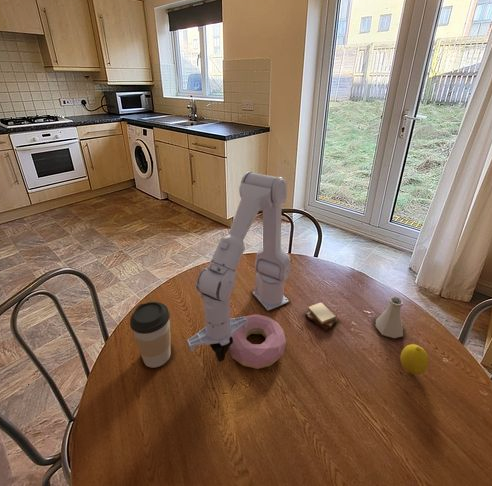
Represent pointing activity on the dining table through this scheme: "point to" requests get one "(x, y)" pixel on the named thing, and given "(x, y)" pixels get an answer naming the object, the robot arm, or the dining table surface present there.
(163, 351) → the coffee cup
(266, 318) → the donut
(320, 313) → the letter pile
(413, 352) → the lemon
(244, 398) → the dining table surface
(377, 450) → the dining table surface
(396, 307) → the flask
